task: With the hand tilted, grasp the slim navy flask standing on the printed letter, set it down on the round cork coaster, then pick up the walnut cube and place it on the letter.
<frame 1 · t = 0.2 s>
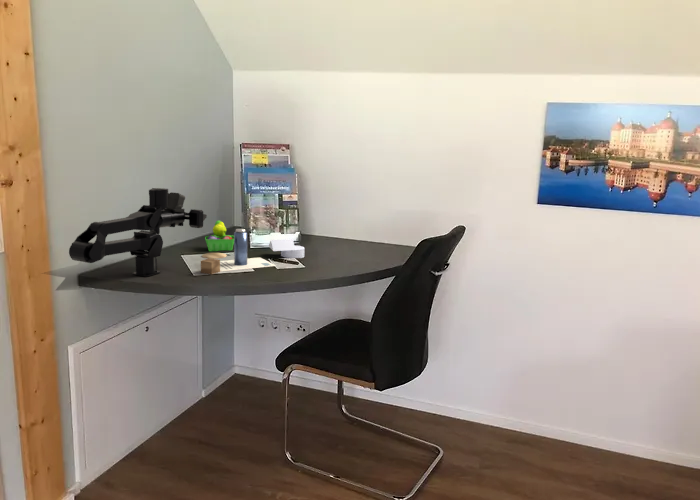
hand: (196, 214, 226), 17 cm above the table, tool horizontal, fingers open, 9 cm apart
letter: (240, 264, 224), on the table
cube: (210, 273, 211), on the table
fruit basket: (220, 250, 249), on the table
coaster: (214, 256, 235), on the table
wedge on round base: (287, 257, 240), on the table
flask: (240, 264, 224), resting on letter
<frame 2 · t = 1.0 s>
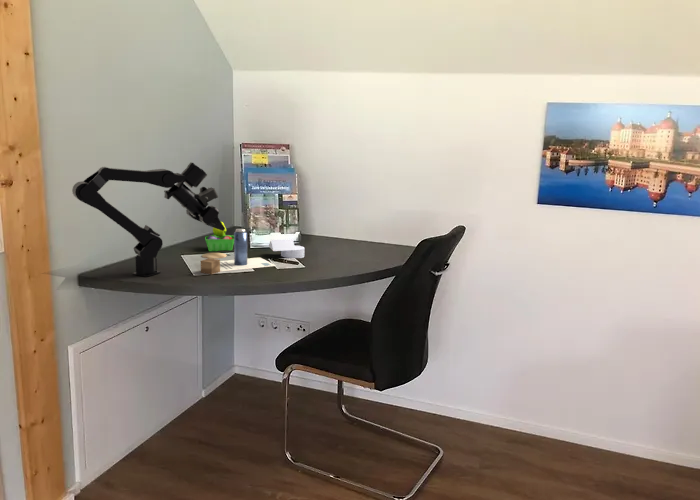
hand: (219, 227, 217), 14 cm above the table, tool tilted 45°, fingers open, 9 cm apart
nothing on the table moved.
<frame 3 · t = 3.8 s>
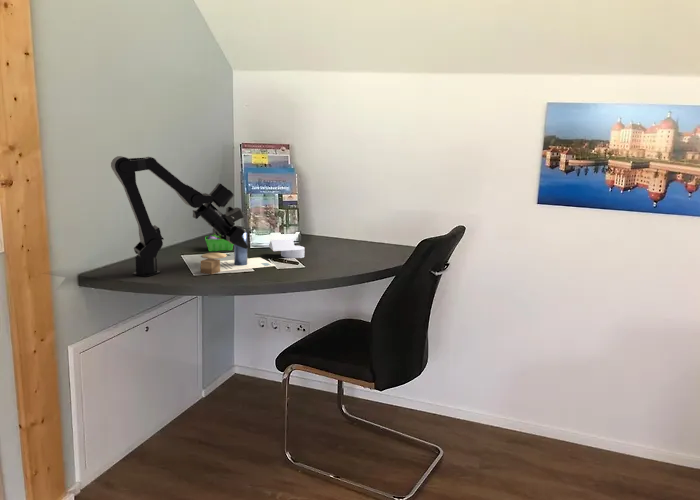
hand: (244, 246, 223), 7 cm above the table, tool tilted 45°, fingers closed on flask, 5 cm apart
flask: (240, 264, 224), resting on letter, touching gripper
everything else where it was.
when the fingers open (8 cm above the table, at t = 7.4 s): flask stays where it is, resting on coaster.
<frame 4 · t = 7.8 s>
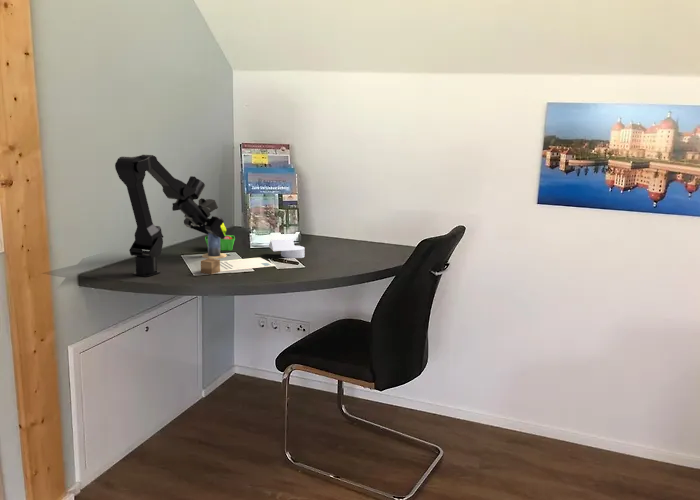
hand: (217, 236, 235), 8 cm above the table, tool tilted 45°, fingers open, 8 cm apart
flask: (214, 255, 235), point 1 cm above the table, touching coaster
everything else where it was.
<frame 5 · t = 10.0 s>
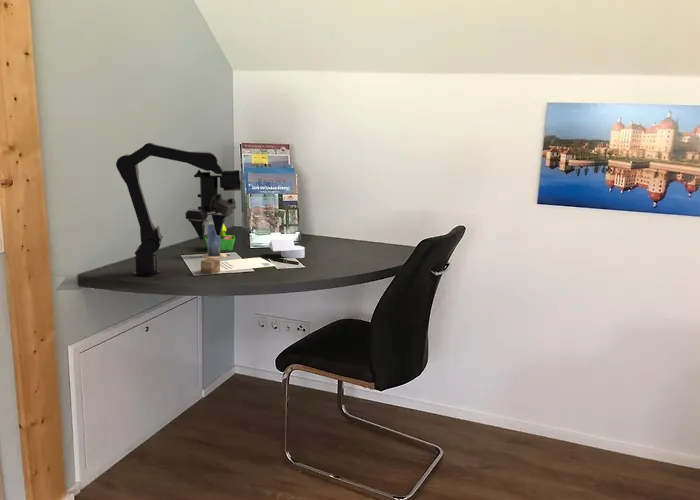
hand: (210, 237, 209), 12 cm above the table, tool pointing down, fingers open, 9 cm apart
nothing on the table moved.
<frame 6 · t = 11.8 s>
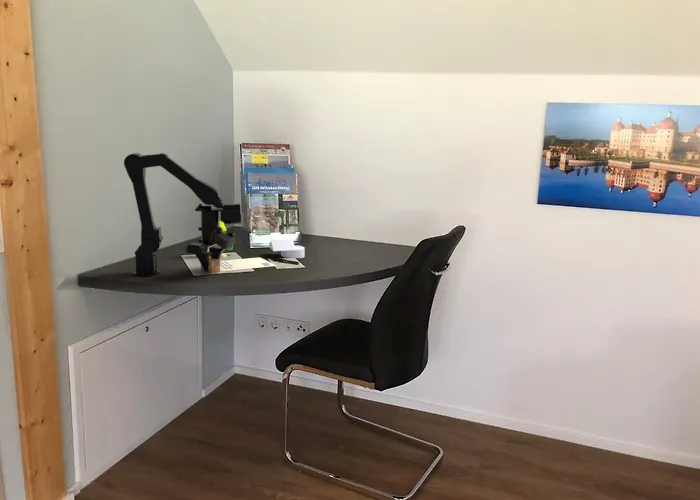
hand: (210, 269, 211), 1 cm above the table, tool pointing down, fingers closed on cube, 4 cm apart
cube: (210, 272, 211), on the table, touching gripper
everything else where it was.
when the fingers open (3 cm above the table, at t = 15.8 s): cube drops 1 cm, resting on letter.
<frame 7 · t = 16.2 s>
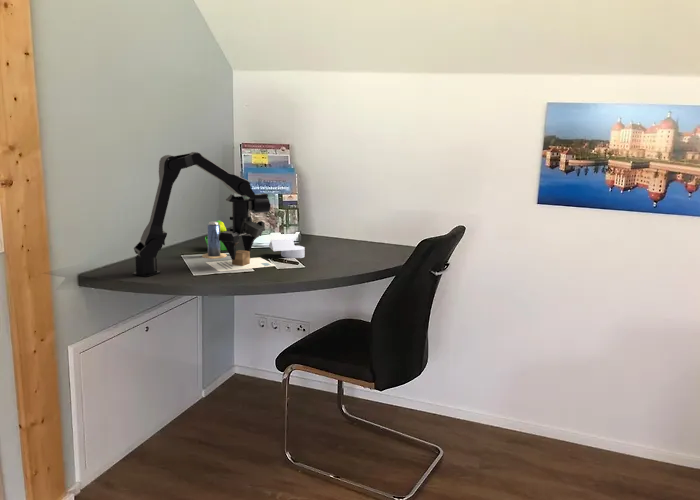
hand: (240, 257, 223), 3 cm above the table, tool pointing down, fingers open, 9 cm apart
cube: (240, 264, 224), resting on letter
everything else where it was.
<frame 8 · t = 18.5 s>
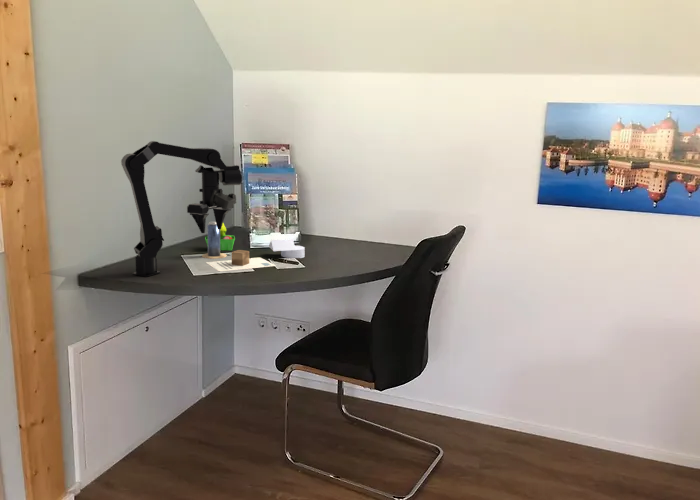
hand: (211, 231, 215), 13 cm above the table, tool pointing down, fingers open, 9 cm apart
nothing on the table moved.
at the end: flask 0.1 cm from the coaster (horizontally); flask tilted 0°; cube inside the target area on the letter (0.1 cm from its centre), point 0.3 cm above the letter's base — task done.
